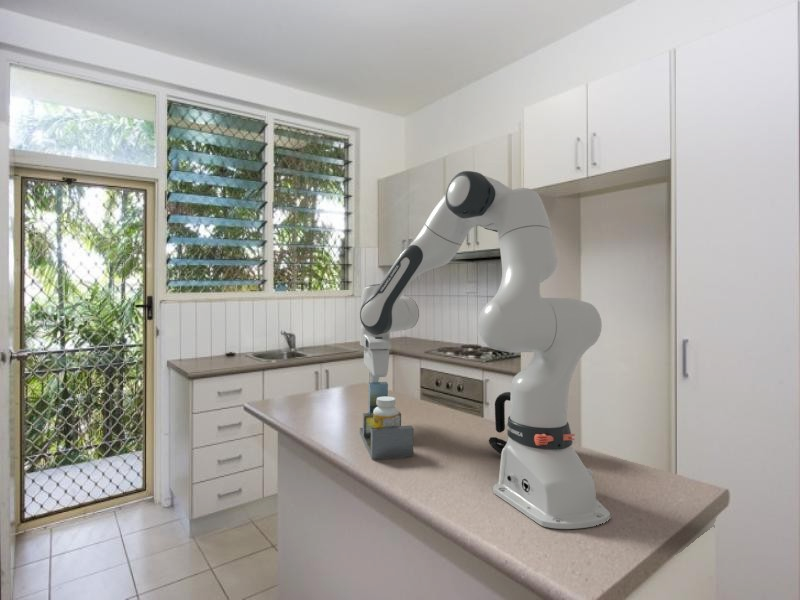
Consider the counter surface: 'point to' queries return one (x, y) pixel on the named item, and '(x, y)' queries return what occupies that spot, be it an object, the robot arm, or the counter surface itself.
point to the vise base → (389, 442)
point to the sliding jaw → (375, 405)
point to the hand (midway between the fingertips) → (374, 386)
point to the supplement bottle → (385, 412)
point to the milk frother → (499, 421)
